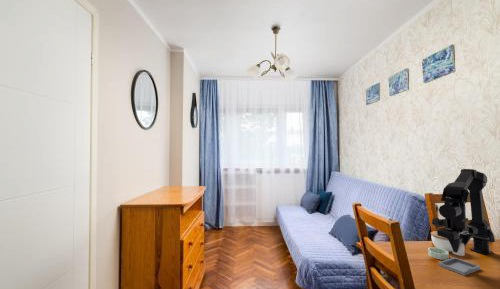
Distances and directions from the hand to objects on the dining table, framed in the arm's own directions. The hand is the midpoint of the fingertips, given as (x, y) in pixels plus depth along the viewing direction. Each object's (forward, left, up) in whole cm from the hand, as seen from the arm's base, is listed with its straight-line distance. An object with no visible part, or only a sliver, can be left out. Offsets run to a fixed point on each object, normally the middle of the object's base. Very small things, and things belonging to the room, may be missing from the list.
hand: (458, 251), depth 99 cm
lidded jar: (-16, -13, -8) cm, 22 cm away
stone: (0, 0, -1) cm, 1 cm away
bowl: (-4, -10, -7) cm, 13 cm away
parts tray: (0, 0, -7) cm, 7 cm away
